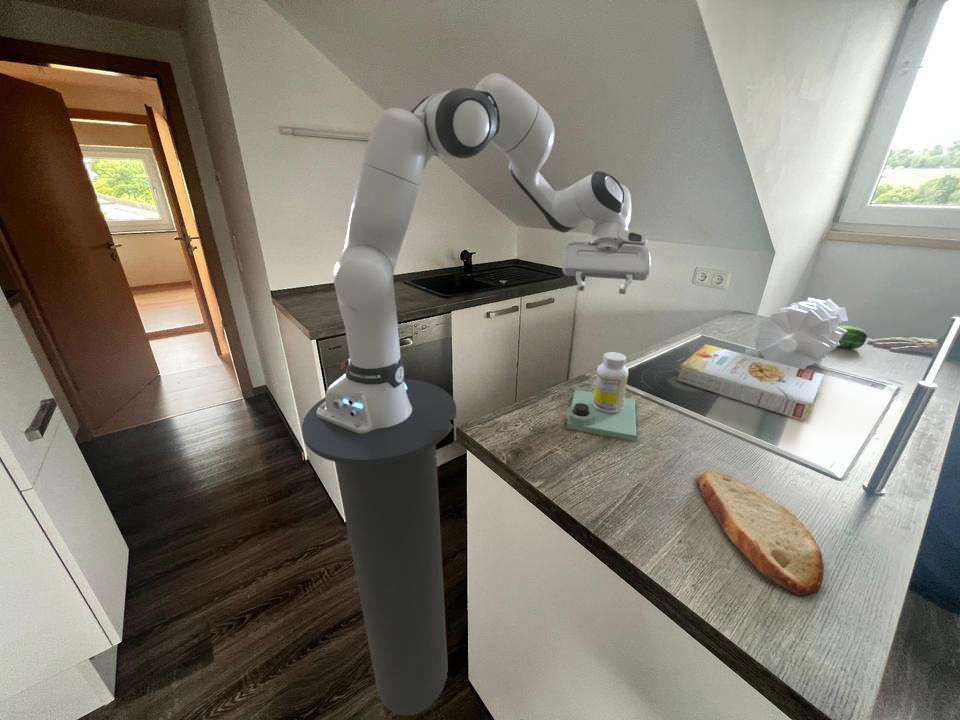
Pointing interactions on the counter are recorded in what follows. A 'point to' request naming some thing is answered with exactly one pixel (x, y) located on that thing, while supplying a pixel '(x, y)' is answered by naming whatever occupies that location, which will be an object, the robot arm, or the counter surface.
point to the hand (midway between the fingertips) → (601, 291)
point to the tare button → (581, 409)
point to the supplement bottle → (611, 383)
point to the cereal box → (753, 380)
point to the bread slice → (765, 533)
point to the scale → (603, 418)
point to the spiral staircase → (801, 333)
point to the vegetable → (852, 337)
